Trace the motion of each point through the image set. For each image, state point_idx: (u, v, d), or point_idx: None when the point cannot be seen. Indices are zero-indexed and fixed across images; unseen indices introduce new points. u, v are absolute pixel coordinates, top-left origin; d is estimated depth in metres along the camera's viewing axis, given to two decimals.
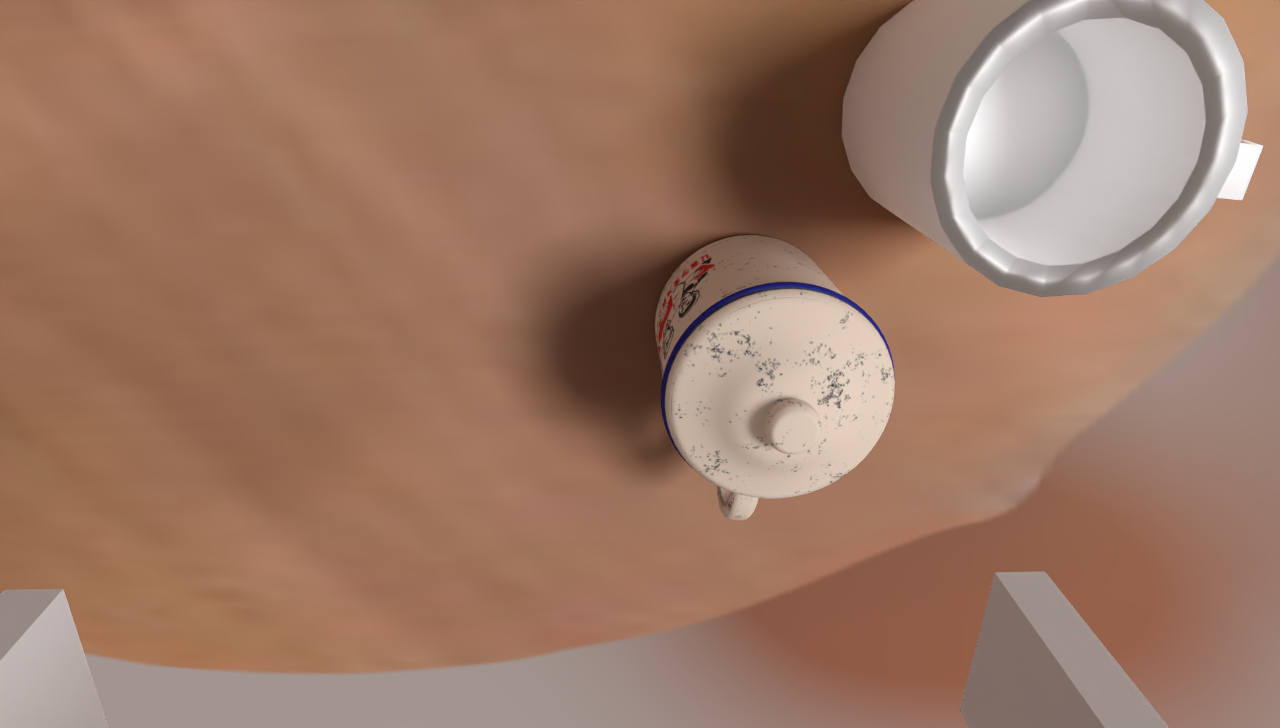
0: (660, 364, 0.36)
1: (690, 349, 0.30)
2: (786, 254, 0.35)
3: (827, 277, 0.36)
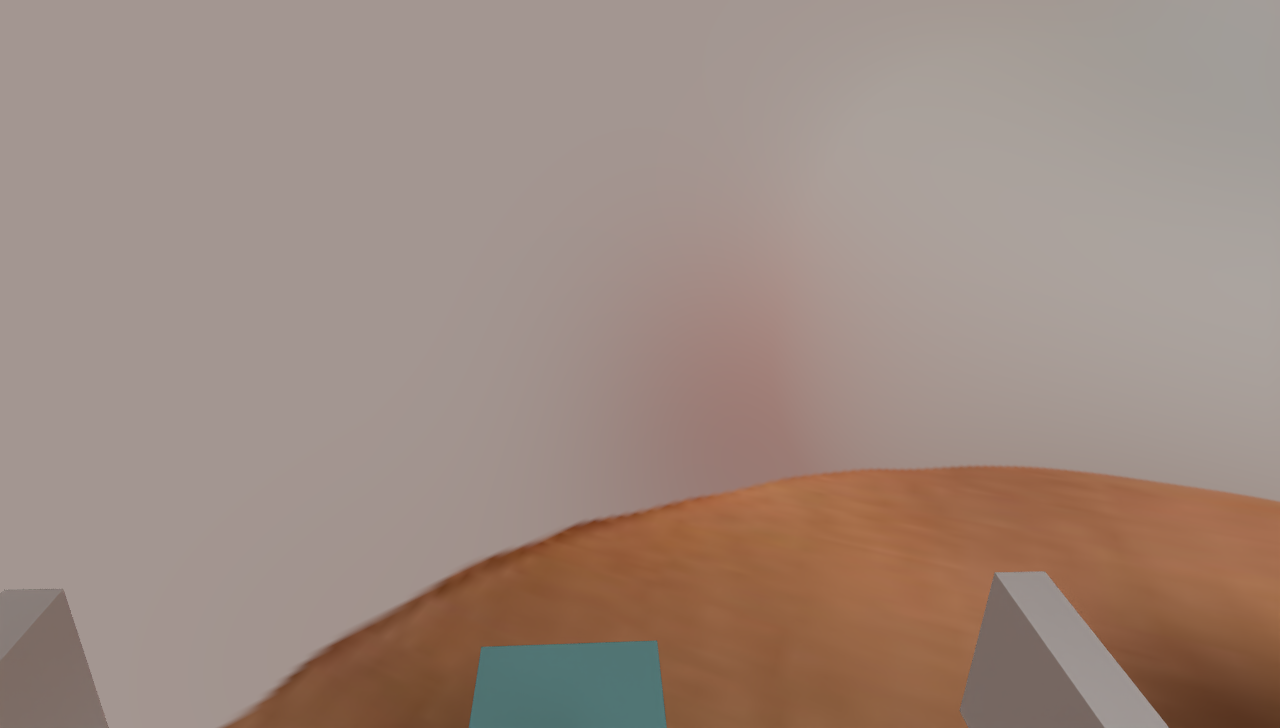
0: None
1: None
2: None
3: None
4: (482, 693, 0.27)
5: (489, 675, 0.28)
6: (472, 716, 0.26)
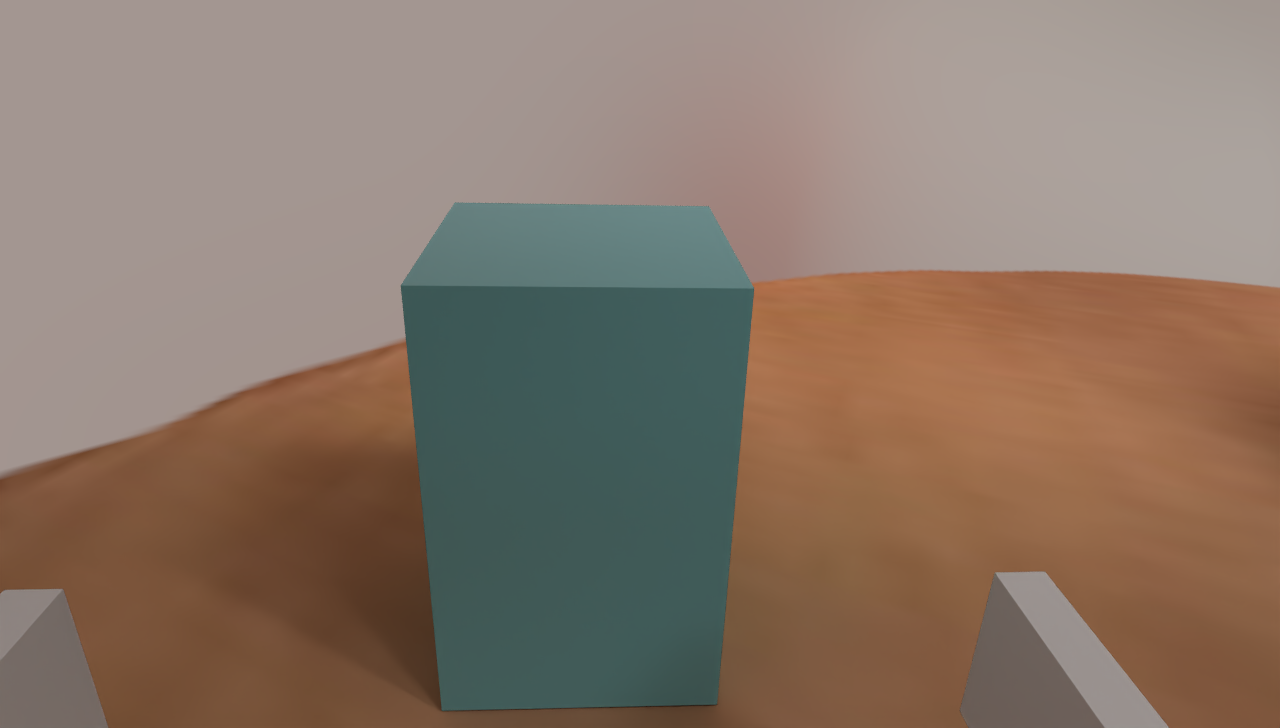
0: None
1: None
2: None
3: None
4: (452, 225, 0.18)
5: (464, 216, 0.19)
6: (435, 236, 0.17)
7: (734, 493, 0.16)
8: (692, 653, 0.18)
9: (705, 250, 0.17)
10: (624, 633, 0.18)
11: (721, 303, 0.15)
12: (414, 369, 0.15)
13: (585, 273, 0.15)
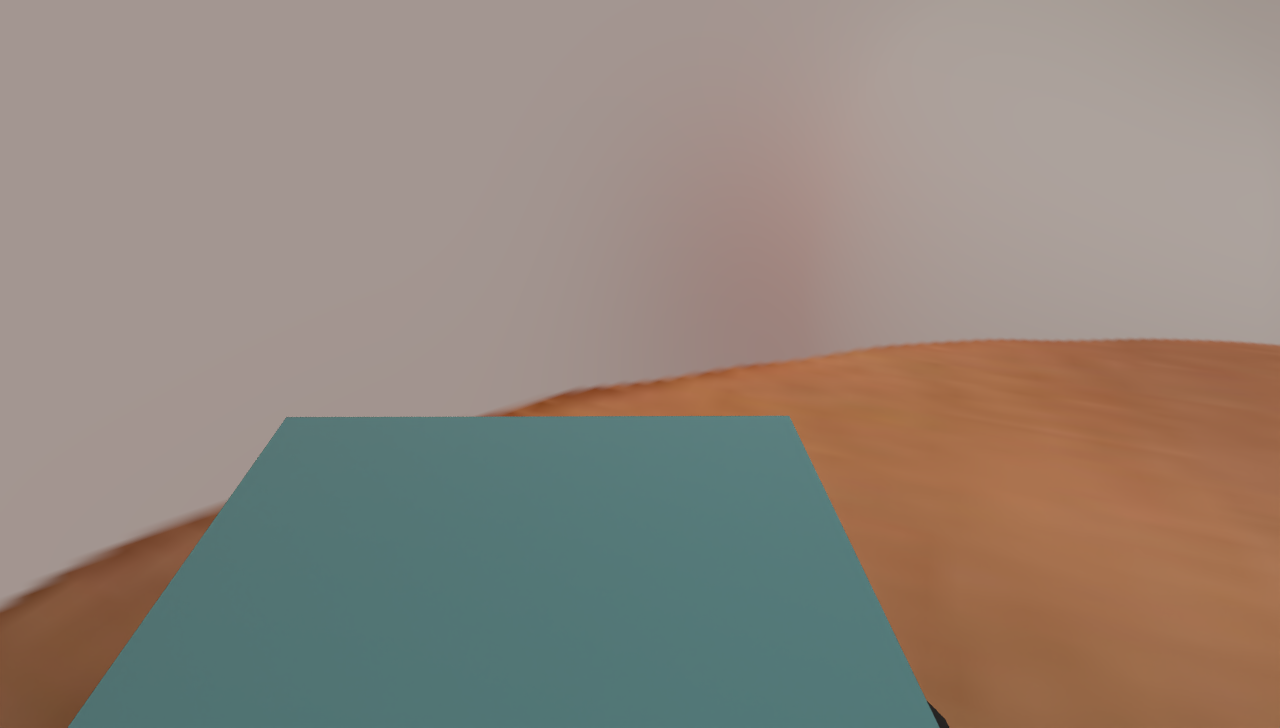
0: None
1: None
2: None
3: None
4: (243, 518, 0.08)
5: (284, 475, 0.09)
6: (178, 579, 0.07)
7: None
8: None
9: (823, 628, 0.07)
10: None
11: None
12: None
13: None
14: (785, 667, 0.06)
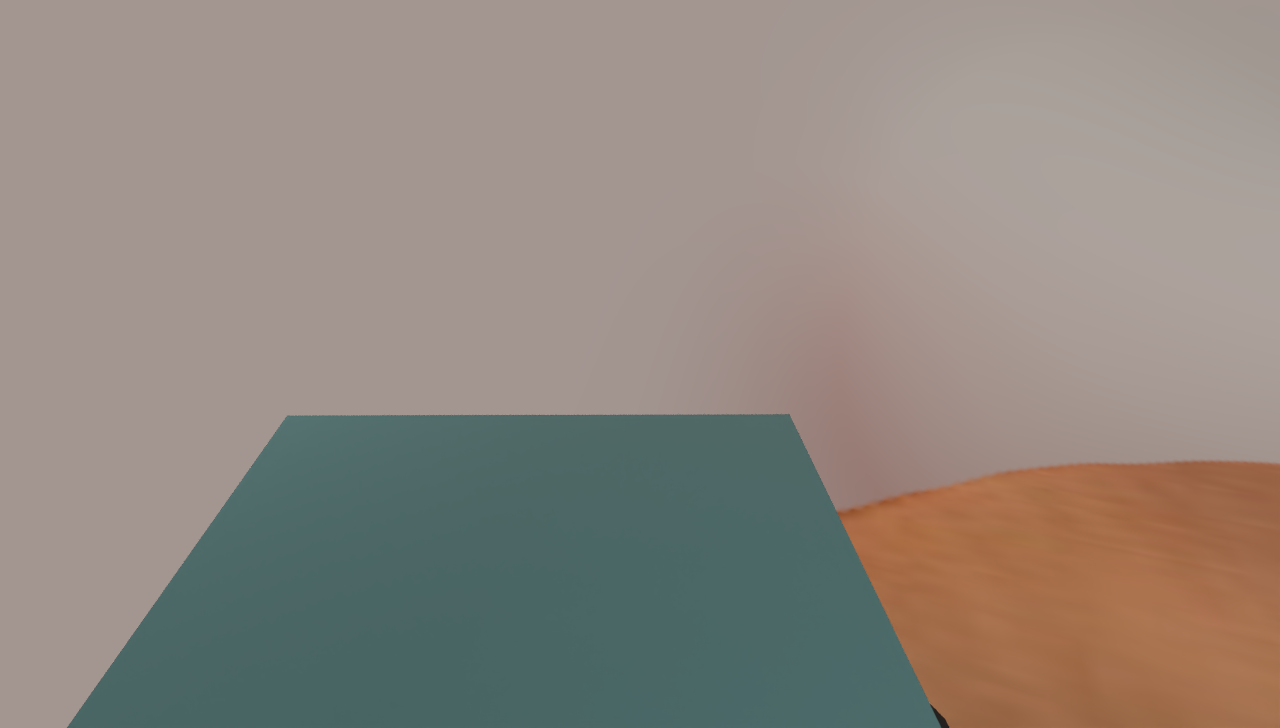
0: None
1: None
2: None
3: None
4: (244, 516, 0.08)
5: (285, 474, 0.09)
6: (179, 577, 0.07)
7: None
8: None
9: (823, 625, 0.07)
10: None
11: None
12: None
13: None
14: (785, 664, 0.06)
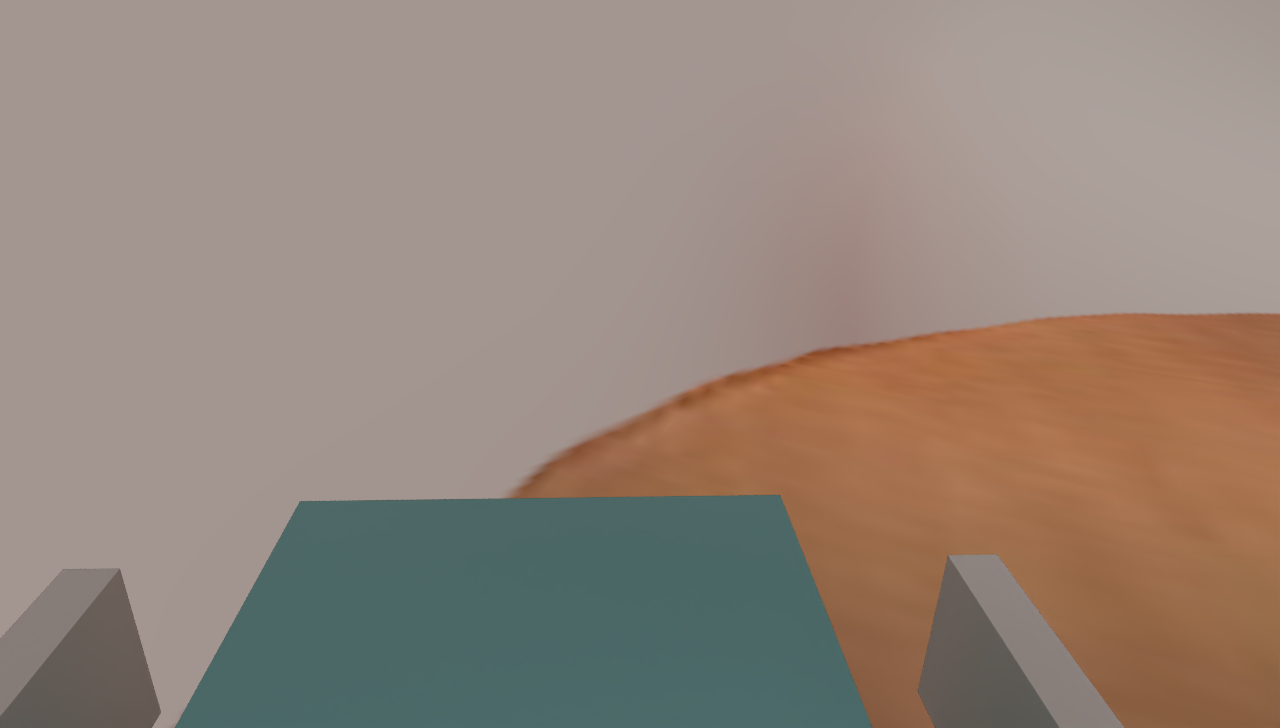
0: None
1: None
2: None
3: None
4: (263, 615, 0.09)
5: (300, 567, 0.09)
6: (205, 684, 0.08)
7: None
8: None
9: None
10: None
11: None
12: None
13: None
14: None
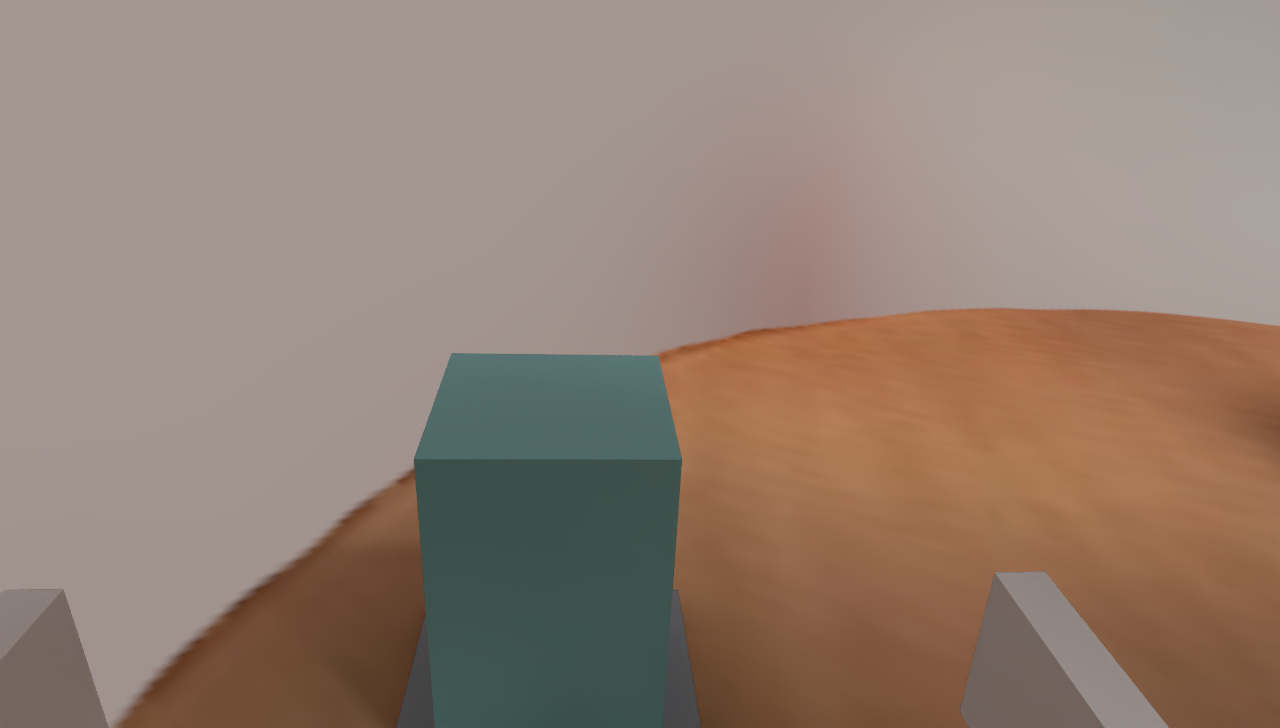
0: None
1: None
2: None
3: None
4: (450, 383, 0.23)
5: (459, 371, 0.23)
6: (437, 398, 0.22)
7: (670, 605, 0.21)
8: (639, 725, 0.23)
9: (649, 412, 0.21)
10: (585, 710, 0.22)
11: (657, 469, 0.19)
12: (422, 517, 0.19)
13: (554, 443, 0.20)
14: (634, 420, 0.21)
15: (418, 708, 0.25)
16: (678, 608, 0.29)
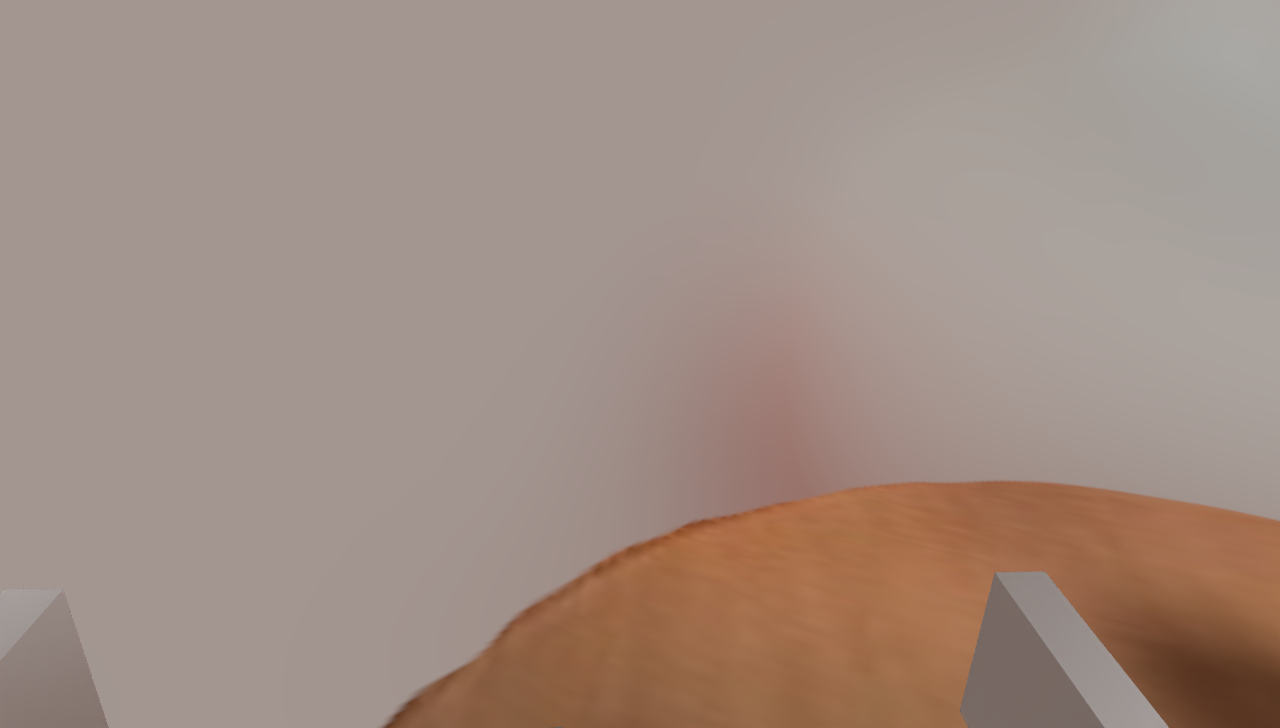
0: None
1: None
2: None
3: None
4: None
5: None
6: None
7: None
8: None
9: None
10: None
11: None
12: None
13: None
14: None
15: None
16: None
